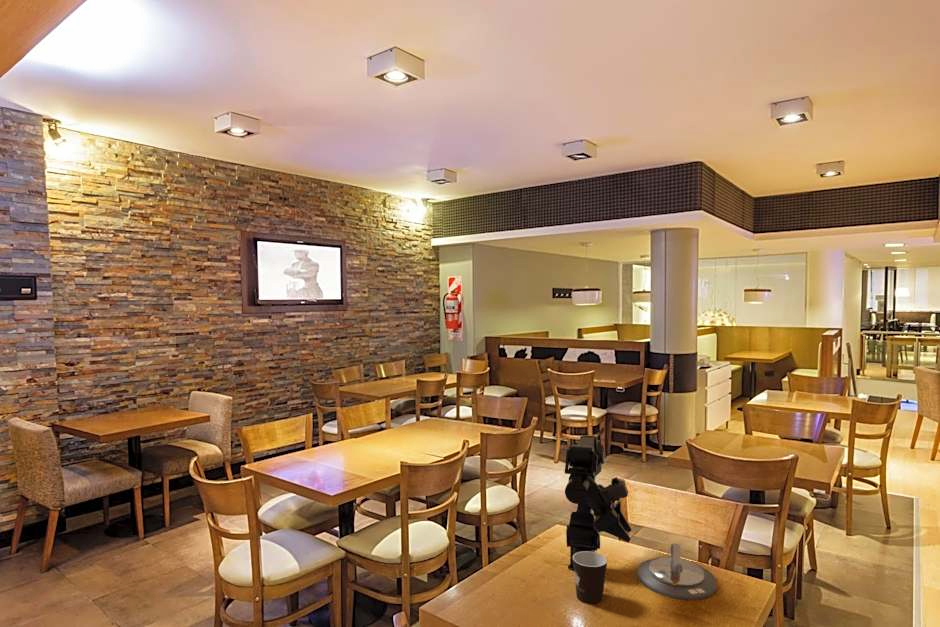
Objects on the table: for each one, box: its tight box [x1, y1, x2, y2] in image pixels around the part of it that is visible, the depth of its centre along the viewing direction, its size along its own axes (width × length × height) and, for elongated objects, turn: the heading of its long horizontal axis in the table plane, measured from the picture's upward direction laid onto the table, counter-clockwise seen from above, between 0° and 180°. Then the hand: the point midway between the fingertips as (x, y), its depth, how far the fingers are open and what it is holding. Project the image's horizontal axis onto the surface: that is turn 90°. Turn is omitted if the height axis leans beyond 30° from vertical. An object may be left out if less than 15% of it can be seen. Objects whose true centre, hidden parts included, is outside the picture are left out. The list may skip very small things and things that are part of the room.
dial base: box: [637, 557, 718, 601], centre depth 152 cm, size 20×20×2 cm
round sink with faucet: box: [649, 543, 704, 587], centre depth 150 cm, size 16×14×10 cm
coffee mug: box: [573, 551, 608, 605], centre depth 144 cm, size 12×9×10 cm
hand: (629, 535), depth 149 cm, fingers open, 7 cm apart
